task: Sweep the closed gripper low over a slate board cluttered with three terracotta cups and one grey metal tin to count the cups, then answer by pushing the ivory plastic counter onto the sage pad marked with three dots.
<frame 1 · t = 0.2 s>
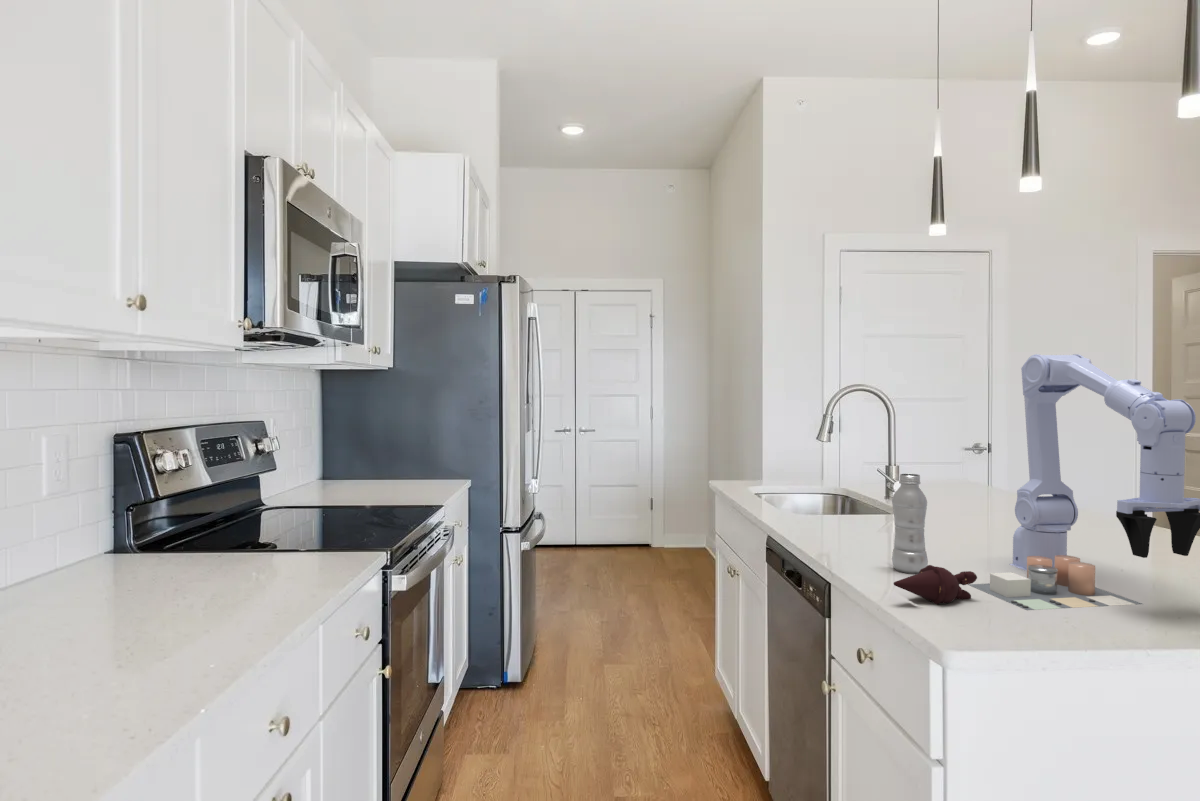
hand: (1160, 555, 115), 10 cm above the worktop, fingers open, 7 cm apart
tin: (1042, 591, 127), point 1 cm above the worktop, touching board
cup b: (1039, 584, 131), point 1 cm above the worktop, touching board
board: (1051, 597, 126), on the worktop
cup c: (1081, 592, 126), point 1 cm above the worktop, touching board
counter: (1009, 592, 126), point 1 cm above the worktop, touching board
plastic bottle: (909, 574, 142), on the worktop
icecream: (934, 605, 122), on the worktop
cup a: (1067, 584, 132), point 1 cm above the worktop, touching board
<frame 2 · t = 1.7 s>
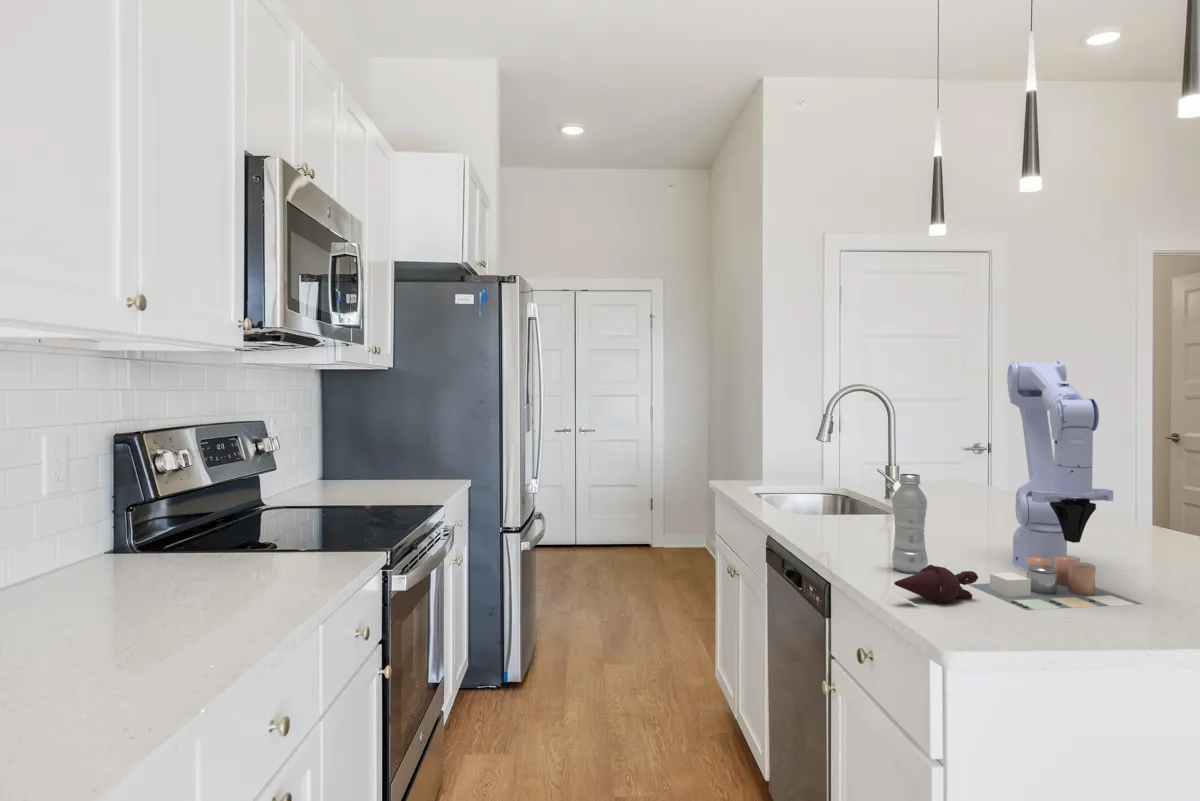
hand: (1072, 541, 126), 10 cm above the worktop, fingers closed
nothing on the worktop moved.
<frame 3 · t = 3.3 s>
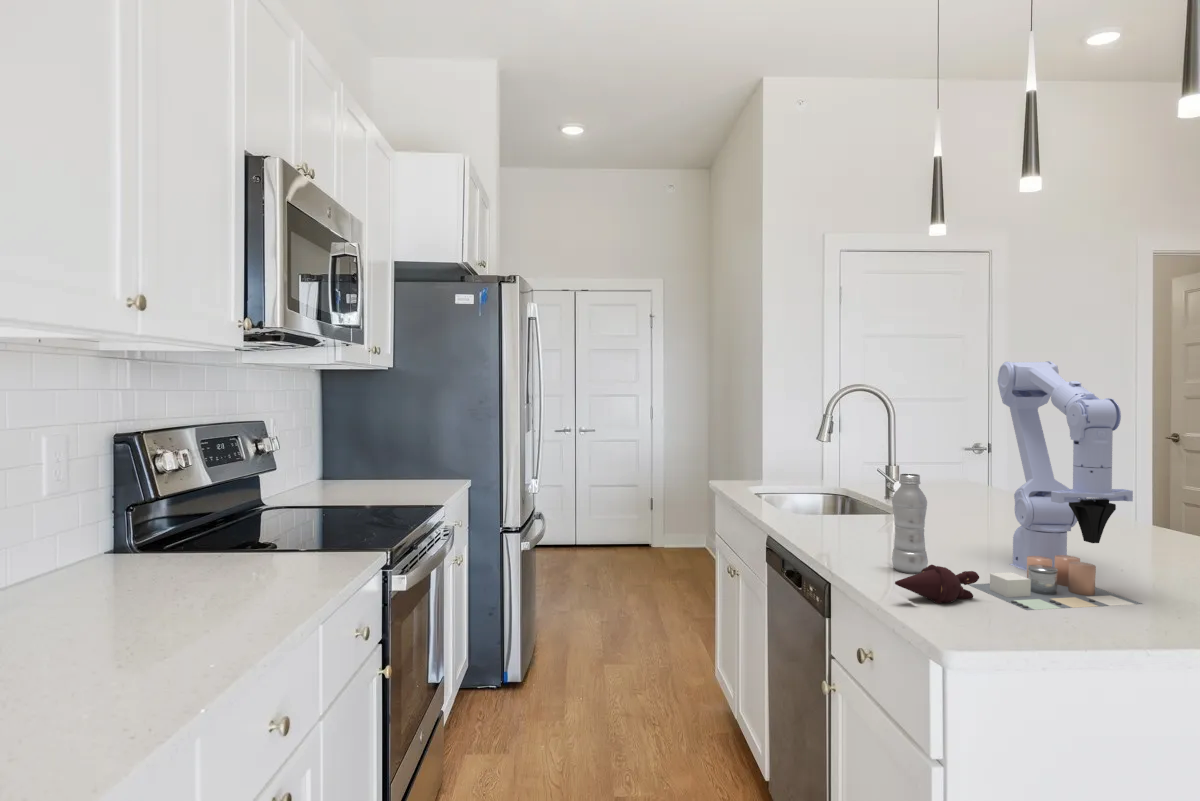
hand: (1091, 542, 125), 10 cm above the worktop, fingers closed
nothing on the worktop moved.
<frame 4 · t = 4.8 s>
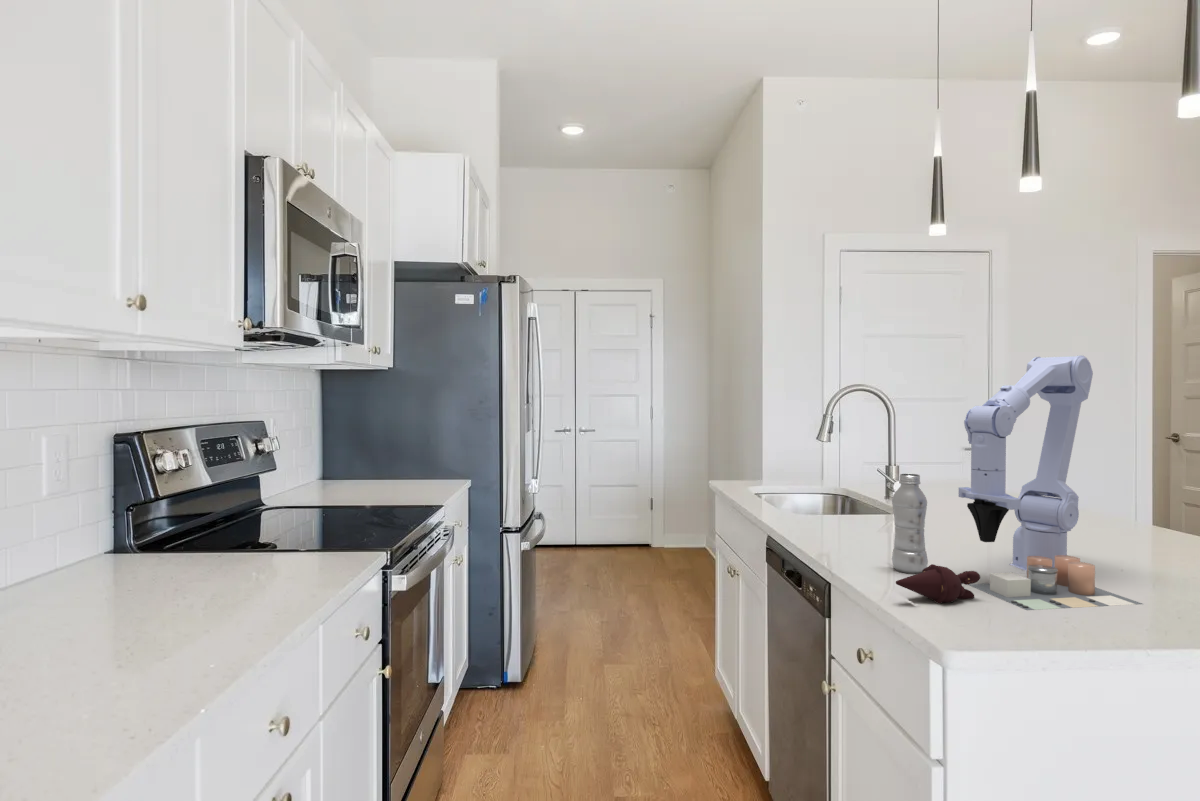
hand: (987, 541, 132), 9 cm above the worktop, fingers closed
nothing on the worktop moved.
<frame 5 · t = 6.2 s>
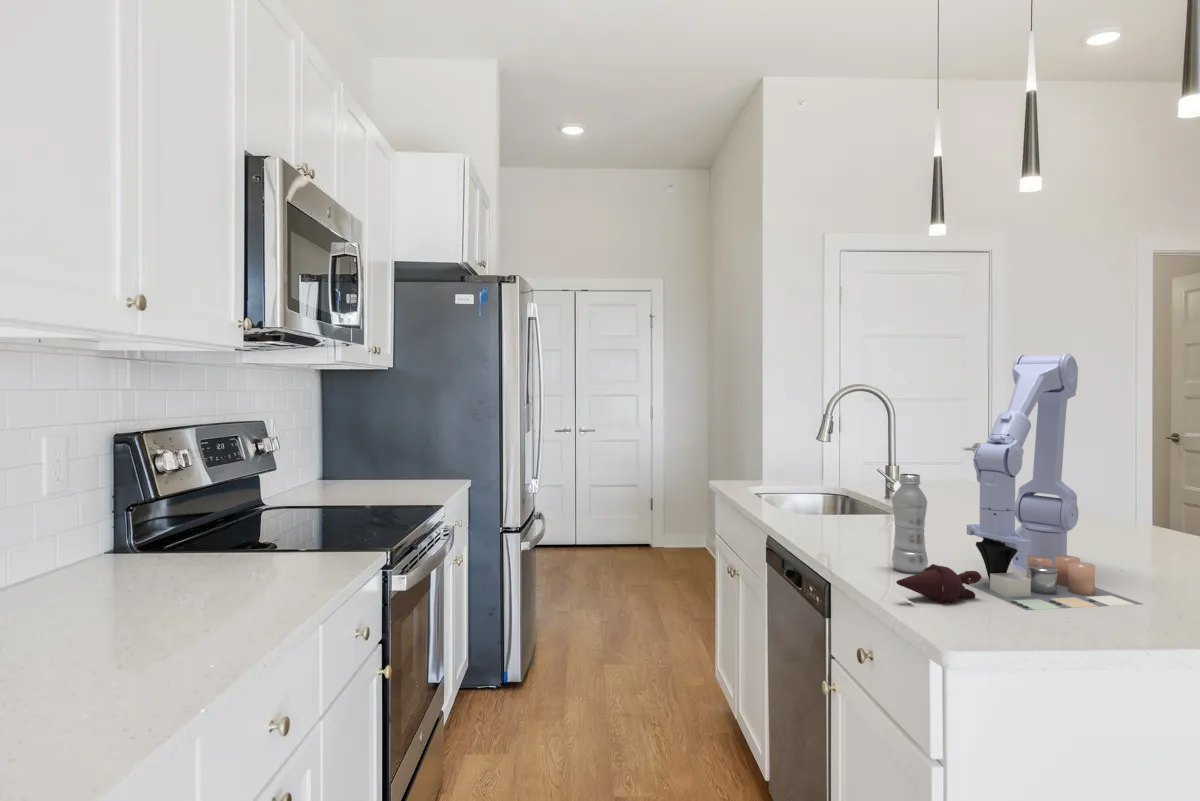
hand: (996, 581, 130), 2 cm above the worktop, fingers closed
counter: (1009, 592, 126), point 1 cm above the worktop, touching board, gripper
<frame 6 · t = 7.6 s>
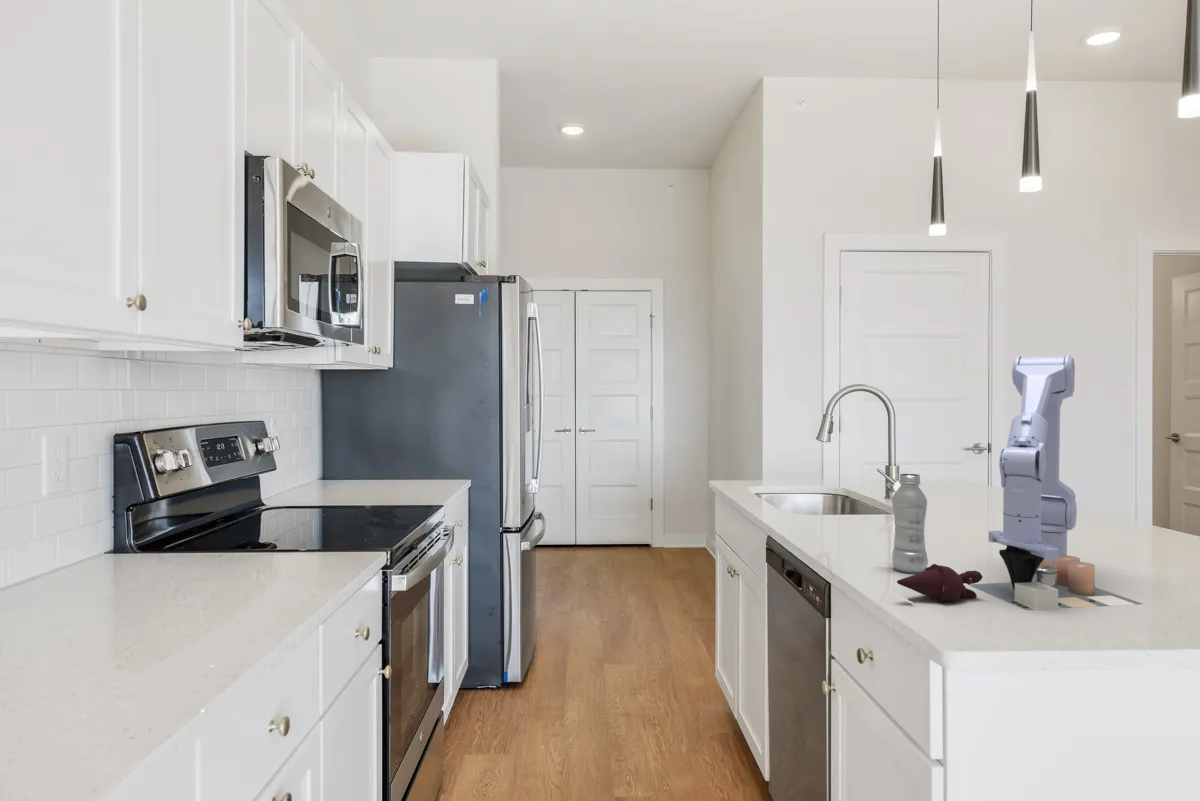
hand: (1021, 591, 123), 2 cm above the worktop, fingers closed
counter: (1035, 603, 120), point 1 cm above the worktop, touching board, gripper
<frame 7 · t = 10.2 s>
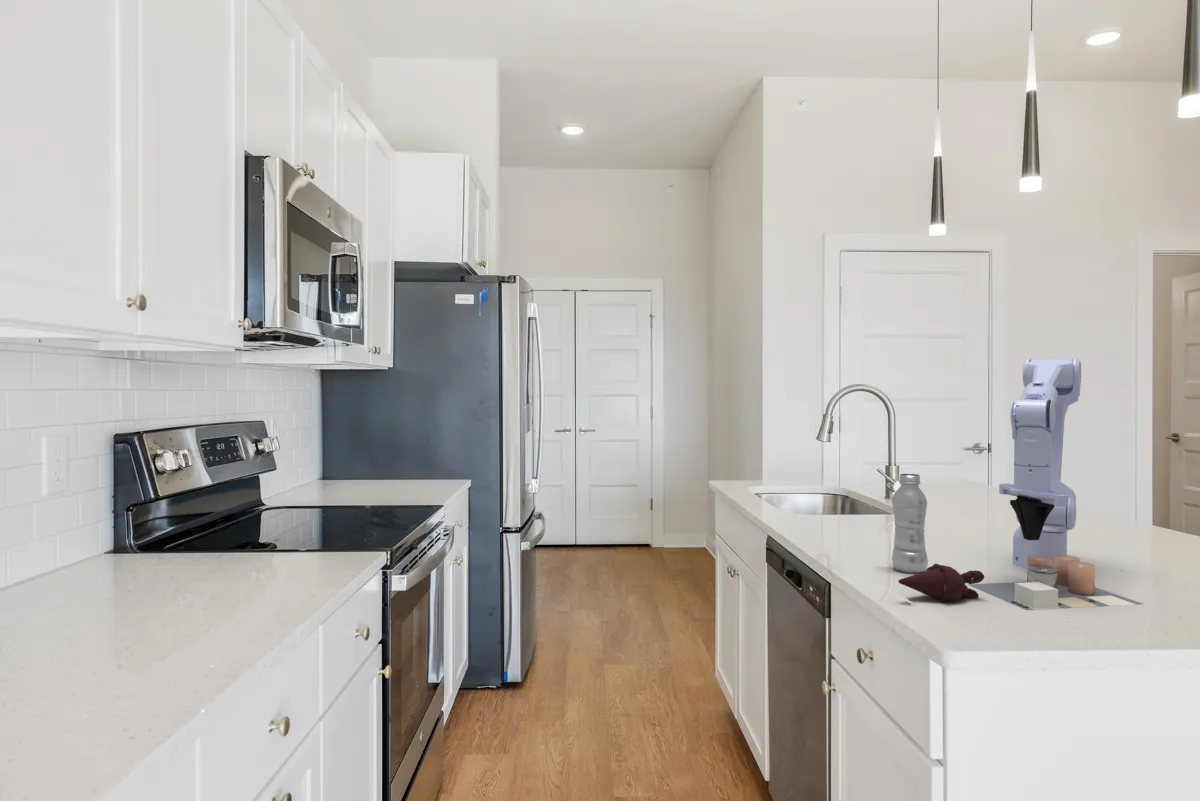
hand: (1031, 539, 128), 10 cm above the worktop, fingers closed
counter: (1035, 603, 120), point 1 cm above the worktop, touching board
at the end: counter 0.5 cm from the target spot, point 0.6 cm above the worktop; counter tilted 0°; tin moved 0.1 cm from its start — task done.
